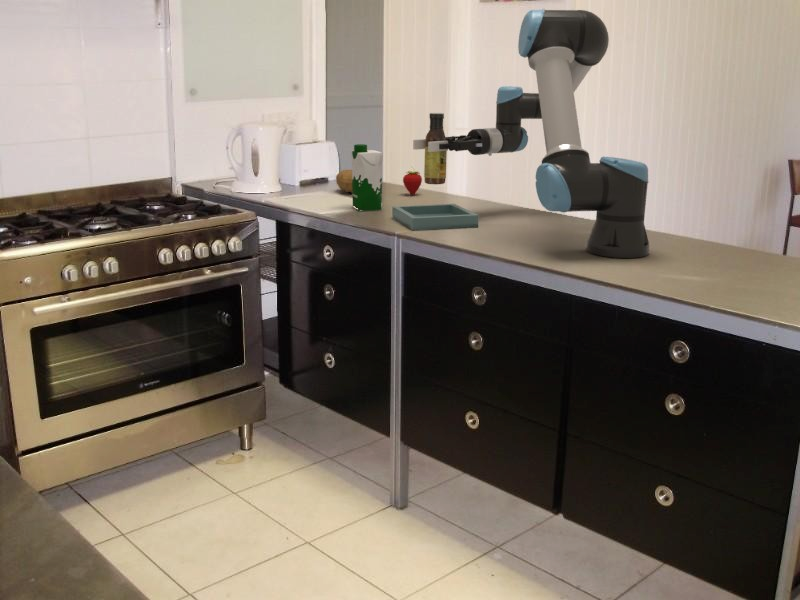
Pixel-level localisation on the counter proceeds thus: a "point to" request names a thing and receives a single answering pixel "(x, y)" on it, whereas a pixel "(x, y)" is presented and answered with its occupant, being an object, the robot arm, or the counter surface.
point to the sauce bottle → (435, 160)
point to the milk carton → (366, 178)
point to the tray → (434, 217)
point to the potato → (345, 180)
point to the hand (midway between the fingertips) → (421, 145)
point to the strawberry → (412, 181)
